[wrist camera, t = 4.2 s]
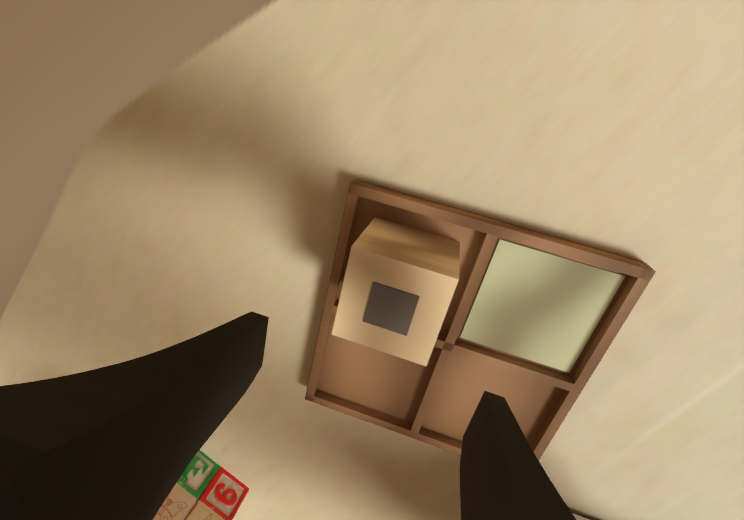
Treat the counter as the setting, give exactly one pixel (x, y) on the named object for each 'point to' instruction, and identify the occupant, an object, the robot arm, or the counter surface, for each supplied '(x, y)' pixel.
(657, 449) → the counter surface
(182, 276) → the counter surface
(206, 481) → the stack of blocks
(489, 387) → the tray
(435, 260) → the light wooden block
